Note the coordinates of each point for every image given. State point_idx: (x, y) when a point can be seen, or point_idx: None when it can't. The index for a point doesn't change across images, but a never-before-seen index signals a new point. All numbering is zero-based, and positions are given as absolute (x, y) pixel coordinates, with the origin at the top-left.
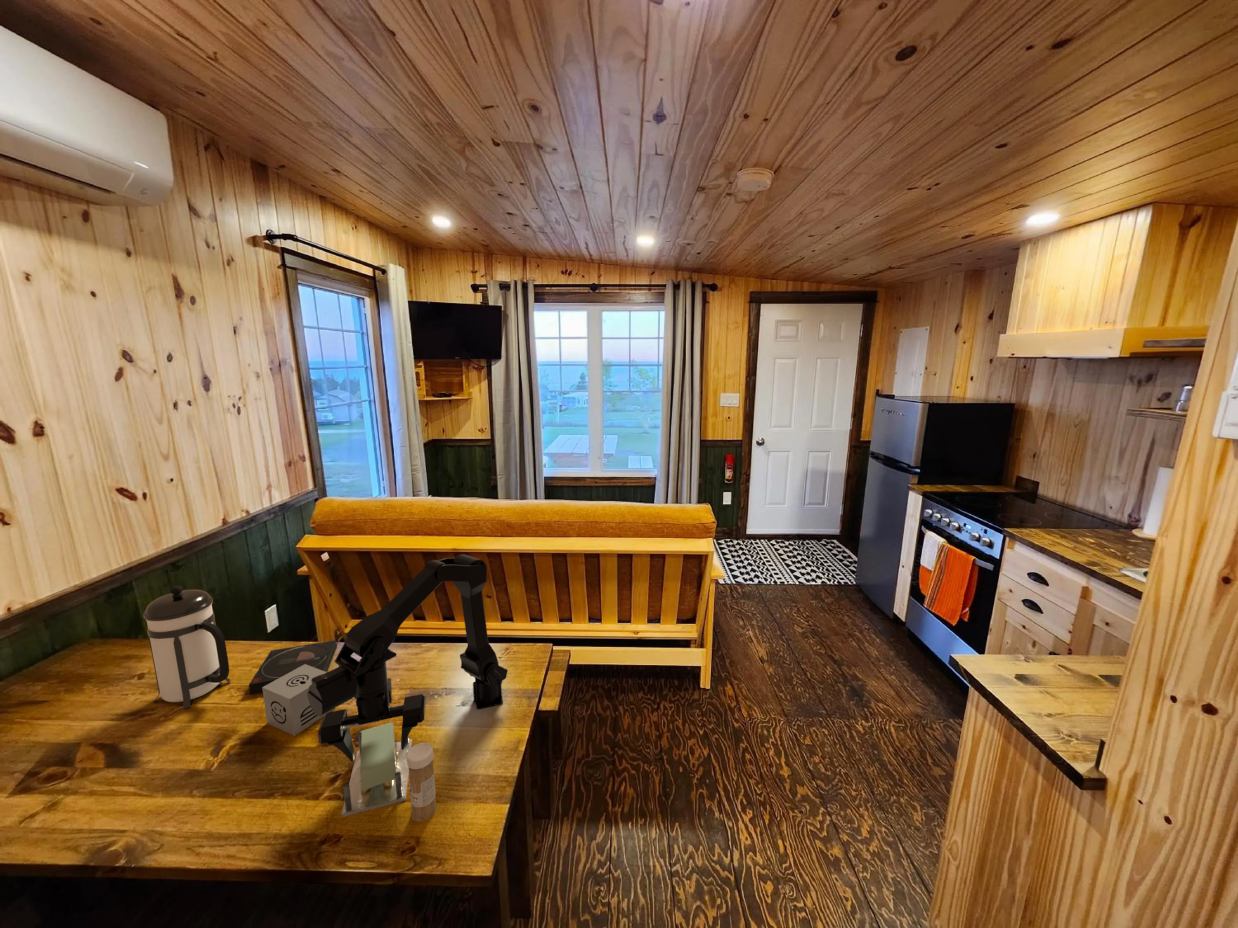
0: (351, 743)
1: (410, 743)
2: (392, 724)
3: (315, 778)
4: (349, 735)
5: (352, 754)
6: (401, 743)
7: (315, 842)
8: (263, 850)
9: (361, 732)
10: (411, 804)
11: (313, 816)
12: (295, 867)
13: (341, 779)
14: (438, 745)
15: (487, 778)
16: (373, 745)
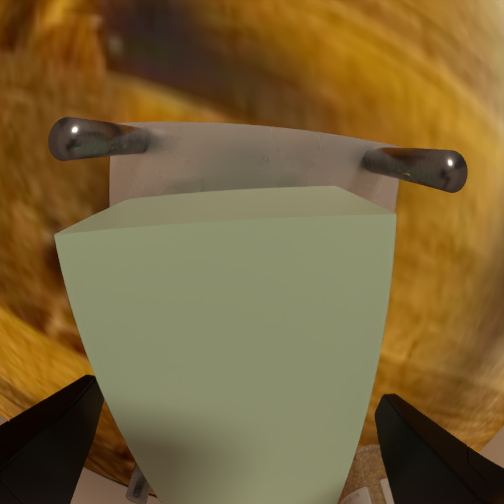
0: (48, 455)
1: (393, 182)
2: (385, 262)
3: (2, 227)
4: (12, 497)
5: (88, 436)
6: (388, 474)
7: (106, 450)
8: (13, 409)
9: (73, 152)
10: (339, 498)
11: (62, 386)
12: (95, 470)
13: None
14: (479, 238)
15: (501, 403)
16: (209, 453)
